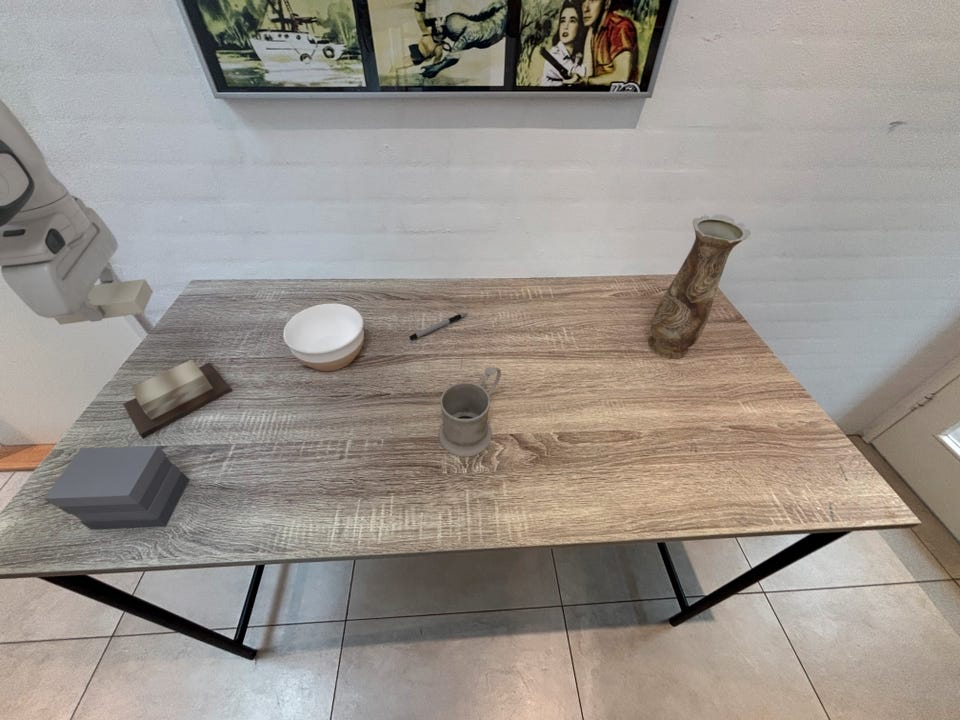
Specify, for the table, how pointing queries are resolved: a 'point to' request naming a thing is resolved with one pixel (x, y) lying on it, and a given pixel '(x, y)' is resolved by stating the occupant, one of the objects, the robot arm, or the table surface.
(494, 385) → the mug
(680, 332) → the vase
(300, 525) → the table surface
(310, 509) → the table surface
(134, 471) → the grey books
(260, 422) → the table surface
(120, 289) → the white book
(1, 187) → the robot arm
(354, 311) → the bowl
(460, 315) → the pen
